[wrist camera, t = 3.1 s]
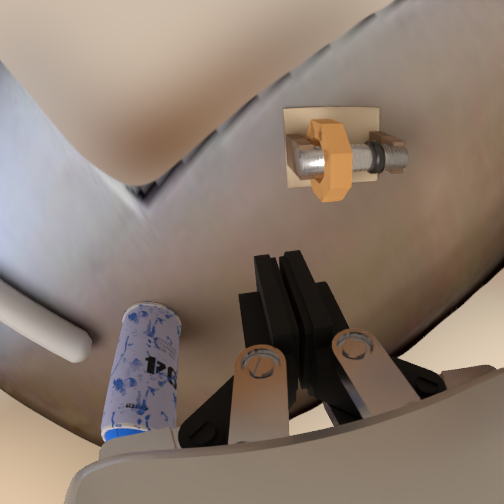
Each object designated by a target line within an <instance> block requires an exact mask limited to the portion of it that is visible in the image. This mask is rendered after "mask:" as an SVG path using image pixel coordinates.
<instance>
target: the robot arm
mask: <svg viewBox="0 0 504 504" xmlns="http://www.w3.org/2000/svg"><path fill="white" fill-rule="evenodd" d="M254 264H255V274H256V285H257V292H251V293H243V294H238V295H239V303H240V310H241V317H242V325H243V332H244V339H245V347H246V349H245V350H243V351H242V352H241V353H240V354H239V356H238V357H237V359H236V362H235V371H234V375H233V376H232V377H231V378H230V379H229V380H228V381H227V382H226V383H225V384H224V385H223V386H222V387H221V388H220V389H219V390H218V391H217V392H216V393H215V394H214V395H213V396H211V397H210V398H209V399H208V400H207V401H206V402H205V403H204V404H203V405H202V406H201V407H200V408H199V409H197V410H196V411H195V412H194V413H193V414H192V415H191V416H190V417H189V418H188V419H187V420H185V422H184V423H183V424H182V425H181V426H180V427H176V428H172V429H171V428H170V427H169V426H168V427H164V428H160V429H156V430H151V431H147V432H142V433H138V434H133V435H128V436H123V437H117V438H113V439H111V440H108V441H107V442H106V443H104V444H103V445H102V447H101V449H100V452H99V460H98V461H96V462H93V463H91V464H89V465H88V466H85V467H84V468H83V469H81V470H79V471H78V472H77V473H76V475H75V476H74V477H73V479H72V481H71V483H70V485H69V488H68V490H67V494H66V497H65V502H64V504H504V368H500V369H496V368H494V367H493V366H490V365H479V366H474V367H468V368H461V369H455V370H448V371H442V372H441V374H439V375H438V374H437V373H435V372H433V371H431V370H428V369H425V368H422V367H420V366H417V365H414V364H411V363H409V362H406V361H404V360H401V359H398V358H396V357H393V356H391V355H388V354H387V353H386V351H385V350H384V349H383V347H382V346H381V345H380V343H379V342H378V341H377V339H376V338H375V337H374V336H373V335H372V334H371V333H369V332H367V331H365V330H362V329H356V328H349V326H348V324H347V322H346V320H345V318H344V316H343V314H342V312H341V310H340V308H339V306H338V304H337V302H336V300H335V298H334V296H333V294H332V292H331V290H330V288H329V286H328V284H327V283H326V282H325V281H324V282H318V283H315V282H314V280H313V277H312V275H311V273H310V271H309V269H308V267H307V264H306V262H305V260H304V258H303V256H302V254H301V252H300V250H296V251H289V252H285V253H284V256H281V257H279V266H280V270H279V267H278V264H277V261H276V258H275V257H274V258H270V256H269V254H267V255H259V256H254ZM298 378H299V381H300V385H301V388H302V389H305V388H307V390H308V394H309V396H315V397H316V398H318V399H320V400H322V401H323V404H324V408H325V410H326V412H327V414H328V416H329V418H330V419H331V421H332V423H333V425H334V427H330V428H326V429H322V430H317V431H312V432H308V433H303V434H298V435H293V436H289V416H288V410H289V409H290V408H291V406H292V405H293V404H294V403H295V401H296V390H298Z"/></svg>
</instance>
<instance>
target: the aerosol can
mask: <svg viewBox="0 0 504 504" xmlns="http://www.w3.org/2000/svg"><path fill="white" fill-rule="evenodd" d="M122 323H123V325H122V329H121V333H120V337H119V341H118V346H117V350H116V354H115V358H114V363H113V367H112V372H111V377H110V382H109V386H108V391H107V397H106V402H105V407H104V413H103V419H102V425H101V430H102V433H101V435H102V437H103V439H104V441H105V442H107V441H108V440H111V439H113V438H117V437H123V436H128V435H133V434H138V433H142V432H147V431H151V430H156V429H160V428H164V427H168V426H169V427H170V428H171V429H172V428H176V400H177V373H178V352H179V336H180V334H181V321H180V319H179V317H178V316H177V314H176V313H175V312H174V311H173V310H171V309H170V308H168V307H167V306H165V305H162V304H159V303H156V302H141V303H136V304H134V305H132V306H130V307H129V308H128V309H127V310H126V311H125V313H124V316H123V320H122Z"/></svg>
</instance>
